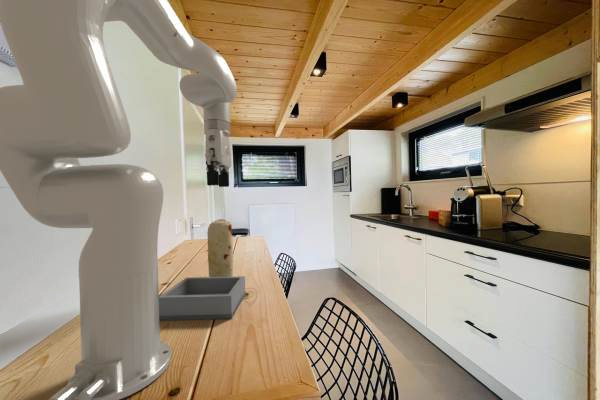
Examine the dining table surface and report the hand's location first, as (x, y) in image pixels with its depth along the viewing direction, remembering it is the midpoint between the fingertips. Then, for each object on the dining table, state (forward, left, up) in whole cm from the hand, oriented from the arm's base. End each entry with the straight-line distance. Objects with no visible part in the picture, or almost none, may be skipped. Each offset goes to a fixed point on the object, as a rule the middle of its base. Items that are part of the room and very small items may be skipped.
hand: (218, 186), depth 72 cm
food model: (0, 0, -30) cm, 30 cm away
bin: (-14, -1, -30) cm, 33 cm away
